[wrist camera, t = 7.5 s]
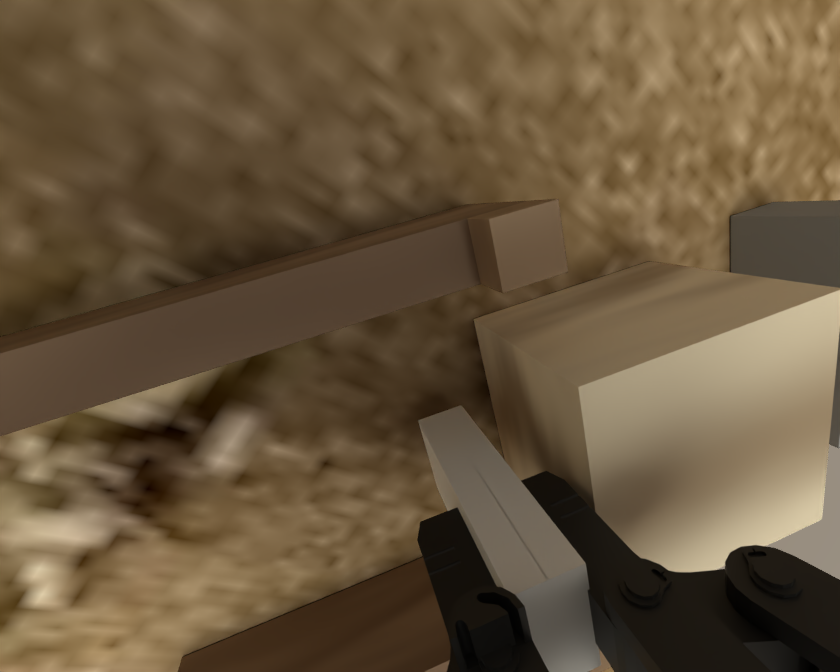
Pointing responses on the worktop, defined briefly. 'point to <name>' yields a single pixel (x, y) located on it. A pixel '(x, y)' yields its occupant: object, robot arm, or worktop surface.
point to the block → (673, 403)
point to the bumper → (792, 254)
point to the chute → (270, 329)
